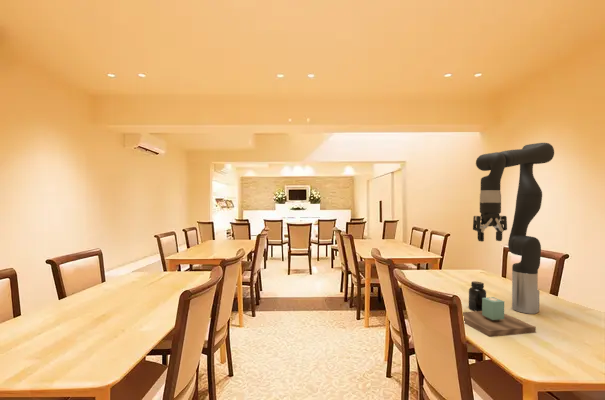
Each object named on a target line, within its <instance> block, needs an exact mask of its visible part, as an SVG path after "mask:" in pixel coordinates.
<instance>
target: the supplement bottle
mask: <svg viewBox="0 0 605 400" xmlns="http://www.w3.org/2000/svg"><path fill="white" fill-rule="evenodd" d="M484 284H485V283H484V282H482V281H477V280H476V281H475V280H473V281H471V284H470V286H471V287H469V289H468V308H469V310H471V311H473V312H474V311H482V298H487V291H486V289H484V287H485V285H484Z"/></svg>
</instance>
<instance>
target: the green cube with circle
mask: <svg viewBox="0 0 605 400" xmlns="http://www.w3.org/2000/svg"><path fill="white" fill-rule="evenodd" d="M504 314H505V301H504V300H503V299H499V298H497V297H494V296H491V297H486V298H482V315H483V316H485V317H488V318H490V319H492V320H498V319H504Z"/></svg>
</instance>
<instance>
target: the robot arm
mask: <svg viewBox="0 0 605 400" xmlns="http://www.w3.org/2000/svg"><path fill="white" fill-rule="evenodd" d="M554 156H555V147H554V146H553V145H552V144H551V143H548V142H538V143H529V144H524V146H522V148H521V149H520V148H519V149H509V150H502V151H499V152H497V151H496V152H490V153H485V154H484V153H483V154H481V155H479V156H478V157H477V158H476V161H475V166H476V168H477V169H478V170H480V171H483V172H485V171H488V172H489V171H490V172H489V173H488V175H485V176H483V177H481V178H480V190H479V191H480V193H479V213H480V215H474V216H473V223H472V230H473V231H476V232H477V241H478V242H480V243H481V242H482V243H483V242H484V241H485V232H484V231H485V230H486V229H487V228H489V227H492V228H494V229H495V231H496V232H495V241H497V242H502V240H503V233H504V231H507V230H508V220H507V218H508V217H507V215H500V214H501V213H502V193H501V192H502V191H501V180H502V178H503V174H504V171H505V168H510V167H517V166H519V179H518V186H517V192H516V193H517V194H516V199H515V210H514V216H513V220H512V225H511V226H512V227H511V229H510V234H509V237H508V242H507V244H508V245H507V247H508V250H509V253H511V254H513V255H516V256H521V258H520V262H516V263H513V264H512V266H511V270H512V272H511V276H512V277H511V279H512V280H511V299H512V300H511V310H513V311H516V312H519V313H522V314H528V315H529V314H530V315H534V314H535V315H536V314H538V313H539V312H540V290H539V282H538V281H539V269H540V266H541V255H542V245H541V242H540V240H539V239H538V238H537V237H535V236H530V235H529V236H528V235H527V232H528V227H529V225H530V223H531V222H532V221H533V220H534V219H535V217H536V216H537V214H538V213H539V212H540V210H541V207H542V200H543V191H542V188H541V187H540V185H539V184H538V181H537V180H536V178H535V176H534V165H538V164H539V165H540V164H547V163H549V162H551V161H552V160H553V158H554Z"/></svg>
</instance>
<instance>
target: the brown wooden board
mask: <svg viewBox="0 0 605 400" xmlns="http://www.w3.org/2000/svg"><path fill="white" fill-rule="evenodd" d="M463 316H464V321H465V323H464V324H465V325H467V326H469V327H470V328H473V329H475V330H477V331H479V332H480V333H482V334H484V335H486V336H487V337H498V336H499V337H500V336H501V337H502V336H510V335H521V334H532V333H536V331H537V328H536V326H534V325H532V324H530V323H527V322H525V321H523V320H520V319H519V318H516V317H513V316H510V315H508V314H506V313H504V319H498V320H492V319H490V318H488V317H485V316H483V315H482V311H474V310H473V311H463Z"/></svg>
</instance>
